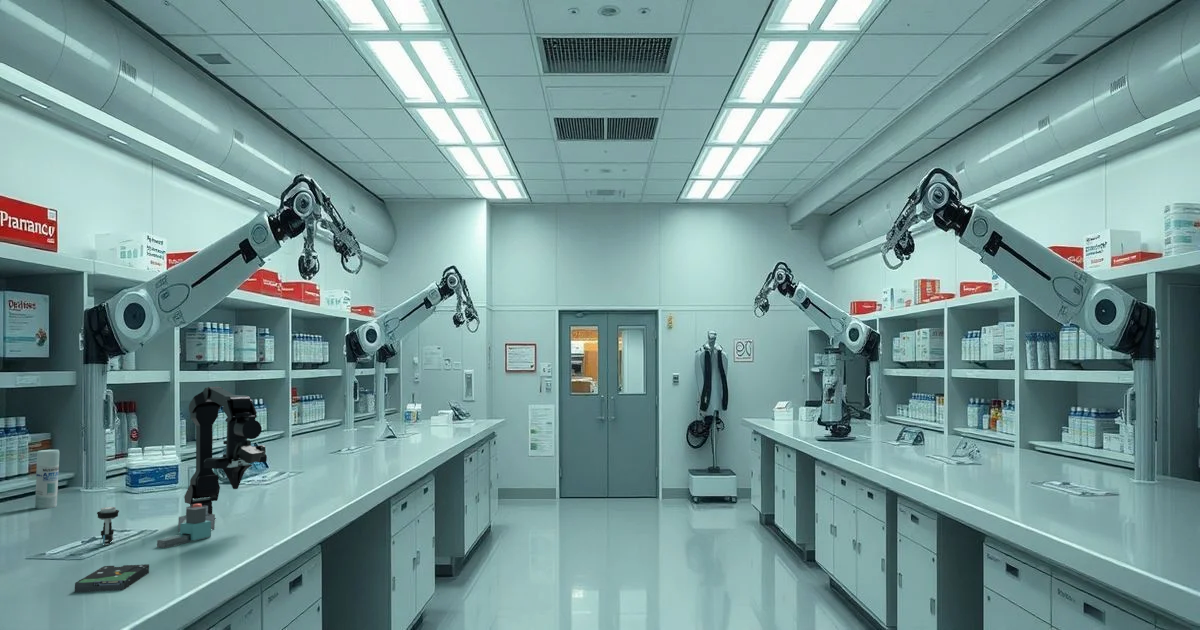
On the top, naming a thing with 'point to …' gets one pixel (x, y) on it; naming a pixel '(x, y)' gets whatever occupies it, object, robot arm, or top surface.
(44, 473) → the spray paint can
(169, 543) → the rail
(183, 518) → the grey piece
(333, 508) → the top surface
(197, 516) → the carriage
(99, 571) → the disk drive
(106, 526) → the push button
